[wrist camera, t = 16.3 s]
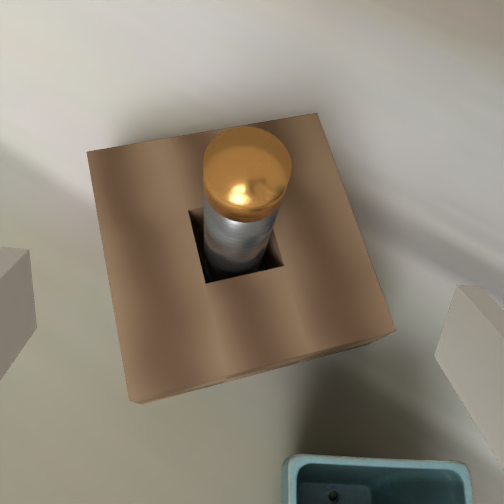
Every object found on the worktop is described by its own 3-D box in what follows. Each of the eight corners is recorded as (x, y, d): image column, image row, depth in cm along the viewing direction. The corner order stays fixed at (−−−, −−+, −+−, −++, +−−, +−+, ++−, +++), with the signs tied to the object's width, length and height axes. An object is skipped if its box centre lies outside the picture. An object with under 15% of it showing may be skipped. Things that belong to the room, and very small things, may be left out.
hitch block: (303, 151, 38) (316, 112, 34) (369, 343, 33) (396, 330, 29) (102, 187, 35) (86, 151, 31) (140, 404, 30) (129, 400, 26)
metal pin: (251, 233, 35) (278, 120, 22) (265, 283, 34) (302, 194, 21) (198, 244, 35) (194, 134, 22) (211, 296, 33) (214, 212, 20)
